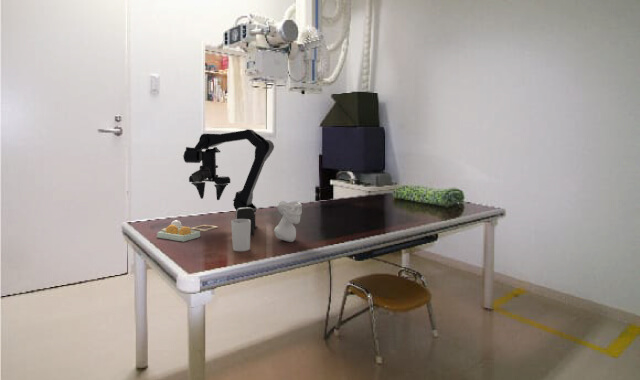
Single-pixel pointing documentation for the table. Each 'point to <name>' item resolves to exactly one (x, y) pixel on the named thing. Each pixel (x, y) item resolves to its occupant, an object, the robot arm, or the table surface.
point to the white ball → (176, 223)
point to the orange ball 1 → (172, 229)
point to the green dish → (178, 237)
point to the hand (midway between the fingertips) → (210, 199)
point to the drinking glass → (241, 234)
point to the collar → (204, 226)
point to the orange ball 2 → (184, 231)
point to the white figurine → (288, 220)
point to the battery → (246, 216)
